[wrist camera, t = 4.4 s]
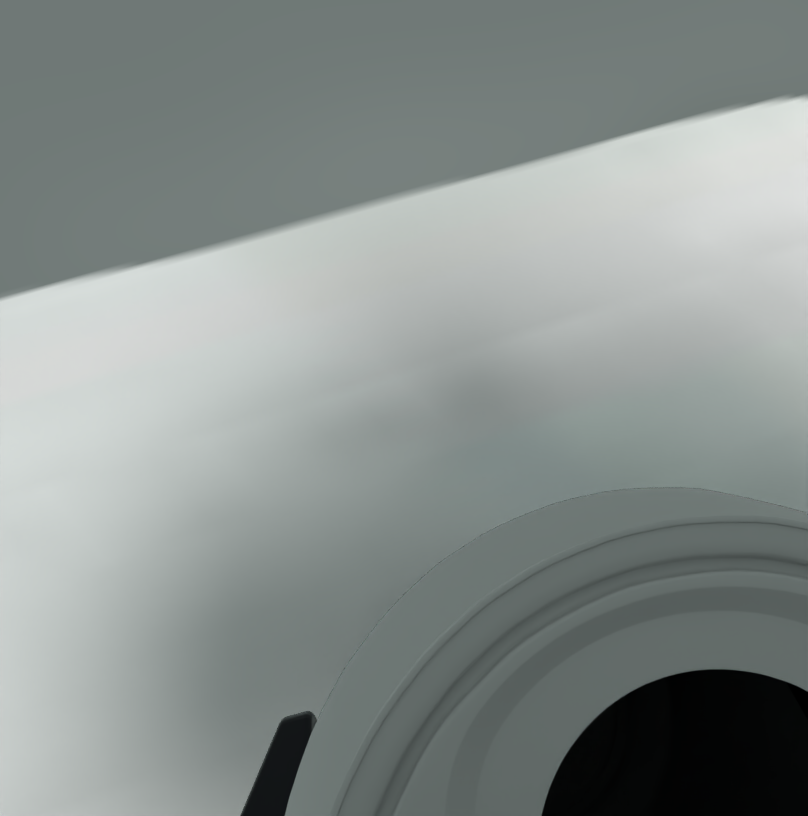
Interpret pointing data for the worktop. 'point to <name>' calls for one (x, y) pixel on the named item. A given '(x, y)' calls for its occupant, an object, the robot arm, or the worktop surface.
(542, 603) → the beverage can
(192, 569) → the worktop surface
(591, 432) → the worktop surface
